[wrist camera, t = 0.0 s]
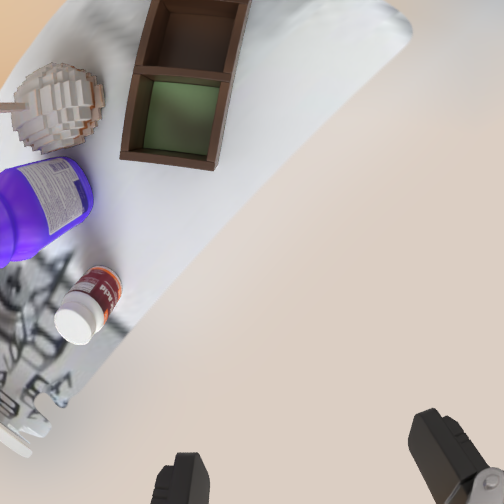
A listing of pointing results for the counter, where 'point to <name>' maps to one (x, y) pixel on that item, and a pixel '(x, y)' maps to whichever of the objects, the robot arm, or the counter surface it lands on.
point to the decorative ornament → (56, 107)
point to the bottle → (40, 205)
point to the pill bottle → (88, 305)
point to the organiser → (183, 82)
